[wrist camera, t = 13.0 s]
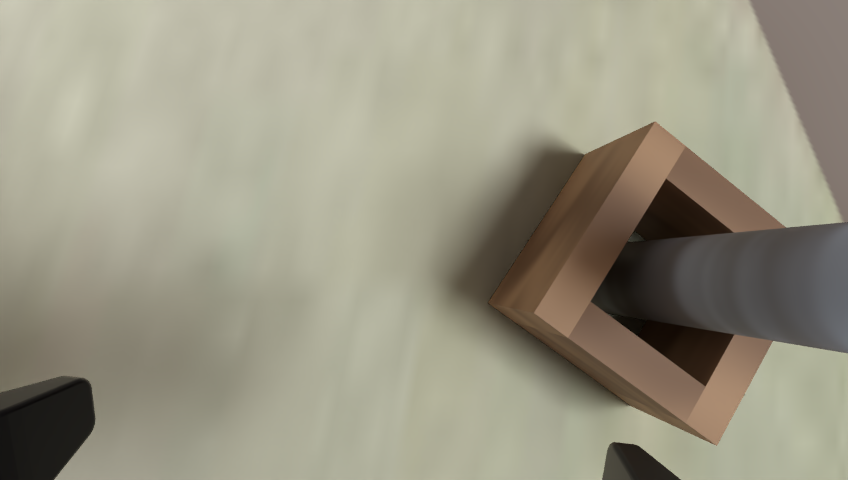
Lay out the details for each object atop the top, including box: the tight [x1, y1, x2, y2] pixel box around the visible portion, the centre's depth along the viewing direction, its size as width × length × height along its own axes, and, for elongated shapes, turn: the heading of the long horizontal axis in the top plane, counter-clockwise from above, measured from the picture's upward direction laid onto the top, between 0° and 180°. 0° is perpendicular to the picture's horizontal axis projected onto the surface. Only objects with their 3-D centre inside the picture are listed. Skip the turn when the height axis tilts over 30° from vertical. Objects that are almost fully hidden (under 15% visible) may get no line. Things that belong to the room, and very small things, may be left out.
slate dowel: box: [591, 222, 848, 353], centre depth 16 cm, size 3×3×13 cm
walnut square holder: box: [488, 122, 786, 446], centre depth 20 cm, size 8×8×5 cm
